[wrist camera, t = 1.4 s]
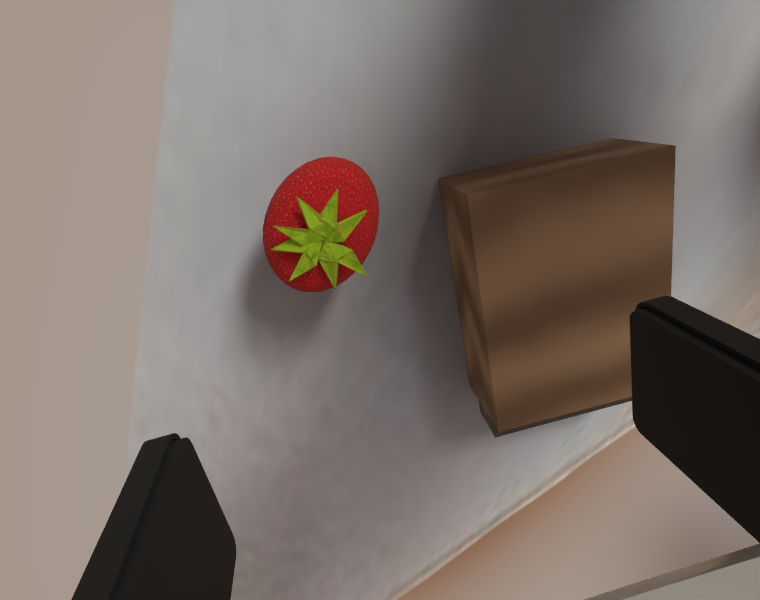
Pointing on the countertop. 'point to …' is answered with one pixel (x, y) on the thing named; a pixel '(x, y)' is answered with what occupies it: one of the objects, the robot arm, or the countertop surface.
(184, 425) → the countertop surface
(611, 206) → the brown wooden block
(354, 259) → the strawberry
